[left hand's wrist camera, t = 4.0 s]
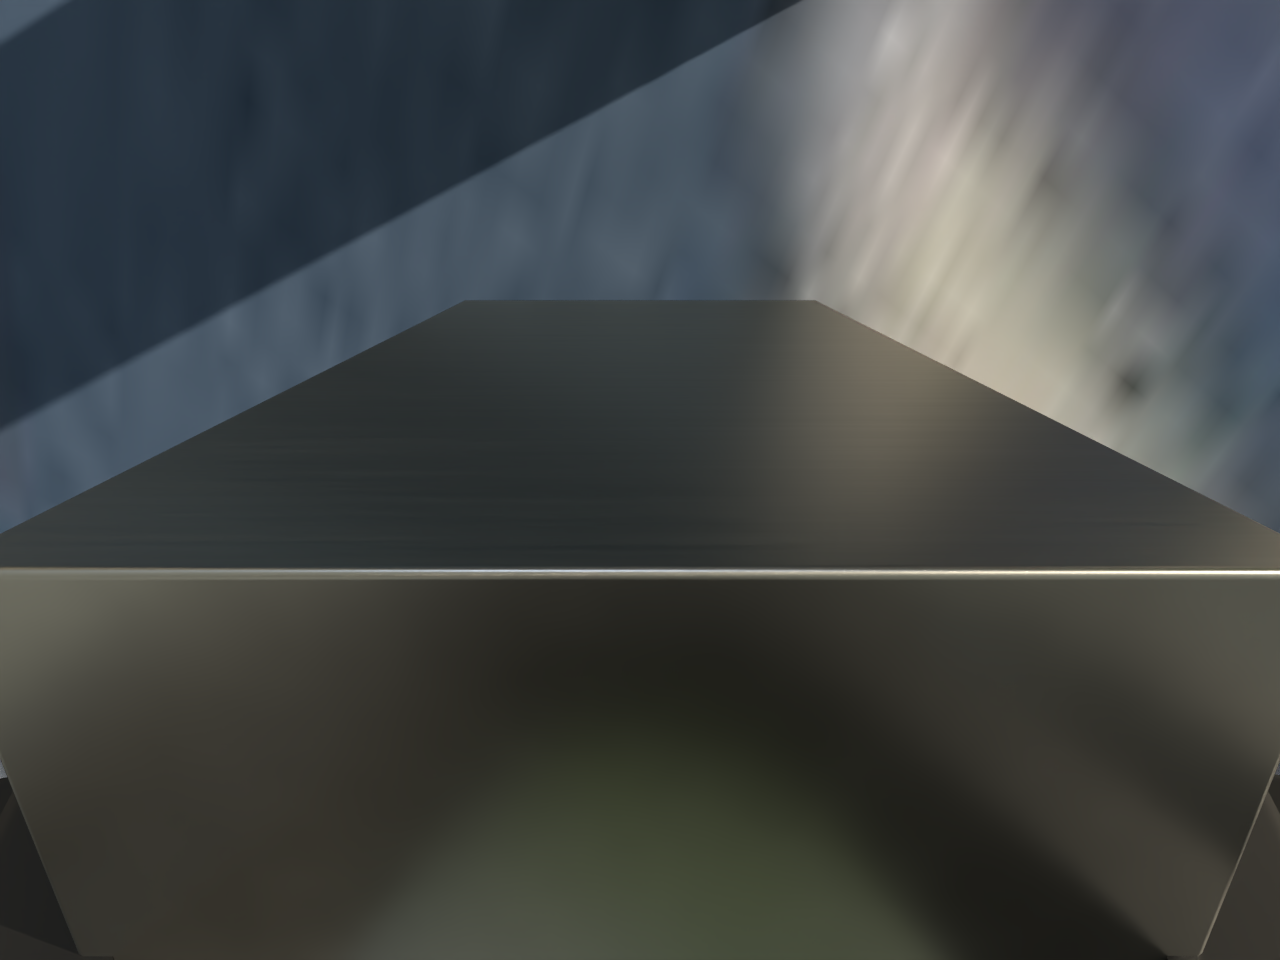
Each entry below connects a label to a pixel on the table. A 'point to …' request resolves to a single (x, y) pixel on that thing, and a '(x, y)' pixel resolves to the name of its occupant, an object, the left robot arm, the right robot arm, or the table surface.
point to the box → (640, 662)
